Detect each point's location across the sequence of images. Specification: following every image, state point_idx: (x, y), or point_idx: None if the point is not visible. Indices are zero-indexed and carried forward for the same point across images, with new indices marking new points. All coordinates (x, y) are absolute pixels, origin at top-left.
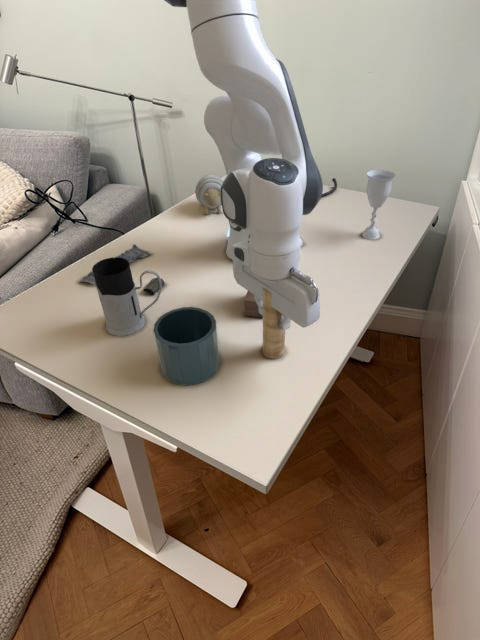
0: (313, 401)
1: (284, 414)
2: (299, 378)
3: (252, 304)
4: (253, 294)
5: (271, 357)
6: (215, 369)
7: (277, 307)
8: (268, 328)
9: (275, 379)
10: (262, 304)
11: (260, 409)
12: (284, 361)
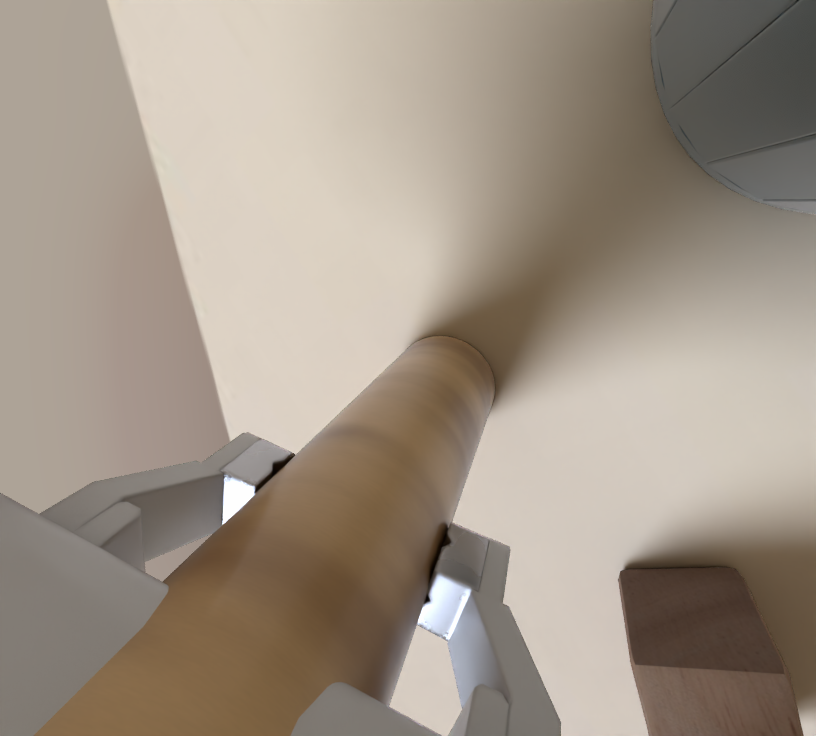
0: (172, 215)
1: (193, 68)
2: (272, 294)
3: (705, 643)
4: (739, 727)
5: (423, 340)
6: (655, 32)
7: (31, 584)
8: (361, 420)
9: (337, 230)
10: (467, 631)
11: (274, 4)
12: (371, 351)
